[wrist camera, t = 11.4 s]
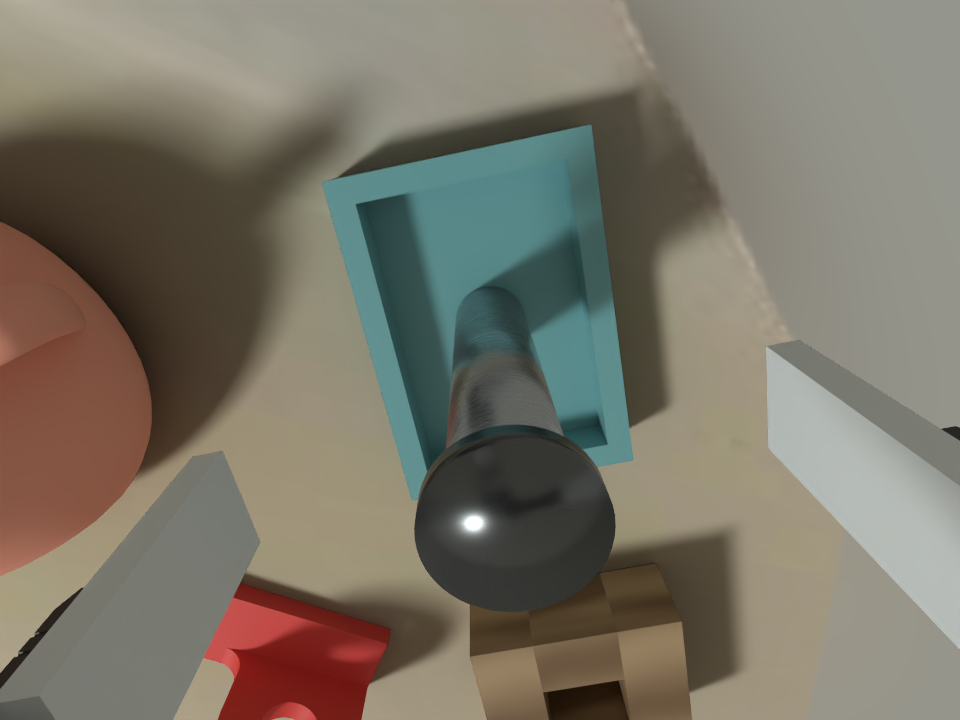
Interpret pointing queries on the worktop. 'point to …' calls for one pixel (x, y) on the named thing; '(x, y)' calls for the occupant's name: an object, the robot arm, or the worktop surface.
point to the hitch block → (586, 654)
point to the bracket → (294, 659)
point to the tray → (485, 281)
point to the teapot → (61, 403)
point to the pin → (508, 475)
